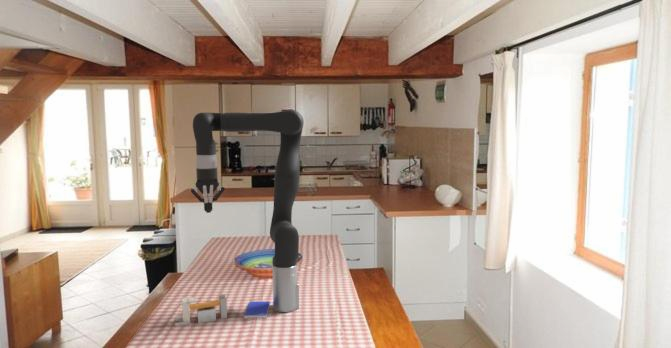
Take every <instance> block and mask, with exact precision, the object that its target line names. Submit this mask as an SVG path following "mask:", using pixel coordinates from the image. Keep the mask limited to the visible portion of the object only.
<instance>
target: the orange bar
mask: <svg viewBox="0 0 671 348" xmlns="http://www.w3.org/2000/svg"><path fill="white" fill-rule="evenodd" d="M220 305H221V300H219V299H218V300H212V301H211V300H210V301H205V302H198V303H197V302H195V303H191V304H189V310H190V311H194V310H197V309H201V308H207V307H214V306H215V307H220Z"/></svg>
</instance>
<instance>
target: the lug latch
mask: <svg viewBox="0 0 671 348" xmlns="http://www.w3.org/2000/svg"><path fill="white" fill-rule="evenodd" d="M190 304H196V298H195V296H192V297H190V296H189V297H185V298H184V297H182V298H181V309H182V316H183V320H182V322H186V321H188V322H189V324H191V316H190V315H191V314H190V311H191V310H190Z"/></svg>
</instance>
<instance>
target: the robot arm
mask: <svg viewBox="0 0 671 348" xmlns="http://www.w3.org/2000/svg"><path fill="white" fill-rule="evenodd" d="M304 123H305V122H304V118H303V115H302V114H301V113H300V112H299V111H297V110H294V109H285V110H282V111H275V112H269V113H268V112H267V113H266V112H265V113H255V112H254V113H252V112H222V113H219V112H199V113H197V114H195V116H194V117H193V119H192V130H193V135H194V140H195V150H196V151H195V153H196V155H195V156H196V158H195V169H196V170H195V171H196V182H195V184H194V186H193V187H192V188H190V189H189V191H190V192H191V193H192V194H193V195H194V197H195V198H196V199H197V200H198V202H201V203H203V208H204V209H203V210H204V211H205V212H206V214H208V213H212V211H213V202H217V200H218V199H219V198H220V196H221V195H222V194H223V192H224V191H225V190H226V188H225V187H224V186H222V185H221V184H220V182H219V179H218V177H219V176H218V158H217V147H216V146H217V145H216V141H215V139H214V137H213V132H228V133H229V132H231V133H236V132H237V133H241V132H245V133H247V132H264V131H265V132H273V133H280V146H279V151H278V152H279V153H278V155H277V158H276V159H277V160H276V165H275V169H274V181H273V182H274V183H273V185H274V186H273V211H272V215H271V216H272V217H271V222H270V228H269V237H270V239H271V241H272V242H273V243H274V255H273V256H272V262H271V263H272V264H271V265H272V300H273V301H272V304H273V310H274V311H275V312H278V313H279V312H280V313H290V312H294V311H296V310H298V309H300V286H299V283H298V258H299V254H300V253H299V250H300V248H299V247H300V246H299V245H300V243H299V241H300V239H299V238H300V237H299V235H300V234H299V232H298V229H297V228H296V226H294V225H293V222H292V221H293V220H292V218H293V217H292V215H293V206H294V203H295V200H296V198H297V195H298V193H299V187H300V175H301V174H300V169H301V159H300V158H301V157H300V147H301V139H302V134H303V128H304ZM216 190H217V192H216ZM198 191H199V192H200V193H201V194H202V196H203V197H201V195H199V193H198ZM215 192H216V193H215ZM214 193H215V194H214Z"/></svg>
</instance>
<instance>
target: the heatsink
mask: <svg viewBox="0 0 671 348" xmlns="http://www.w3.org/2000/svg"><path fill="white" fill-rule="evenodd" d="M216 311H217V309H216V306H214V307H207V308H201V309H196V317H197V322H198V324H202V323H209V322H216V321H217V316H216V315H217V314H216Z"/></svg>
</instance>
